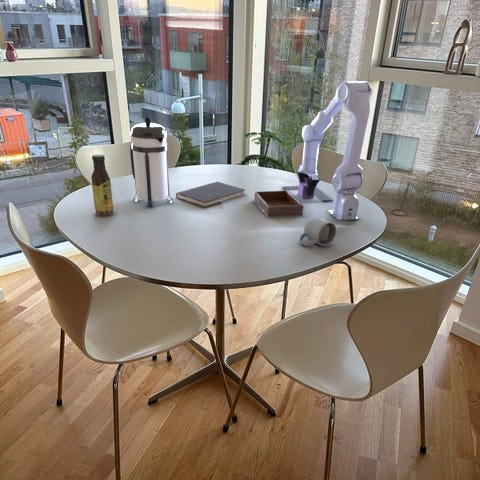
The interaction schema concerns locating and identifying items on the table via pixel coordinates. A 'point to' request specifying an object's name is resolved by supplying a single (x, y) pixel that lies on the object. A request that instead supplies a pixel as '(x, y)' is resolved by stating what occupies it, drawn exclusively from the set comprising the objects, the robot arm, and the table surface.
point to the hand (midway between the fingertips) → (306, 192)
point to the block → (303, 190)
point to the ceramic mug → (318, 232)
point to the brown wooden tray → (278, 203)
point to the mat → (317, 193)
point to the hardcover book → (209, 194)
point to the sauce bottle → (101, 187)
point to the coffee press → (150, 162)
